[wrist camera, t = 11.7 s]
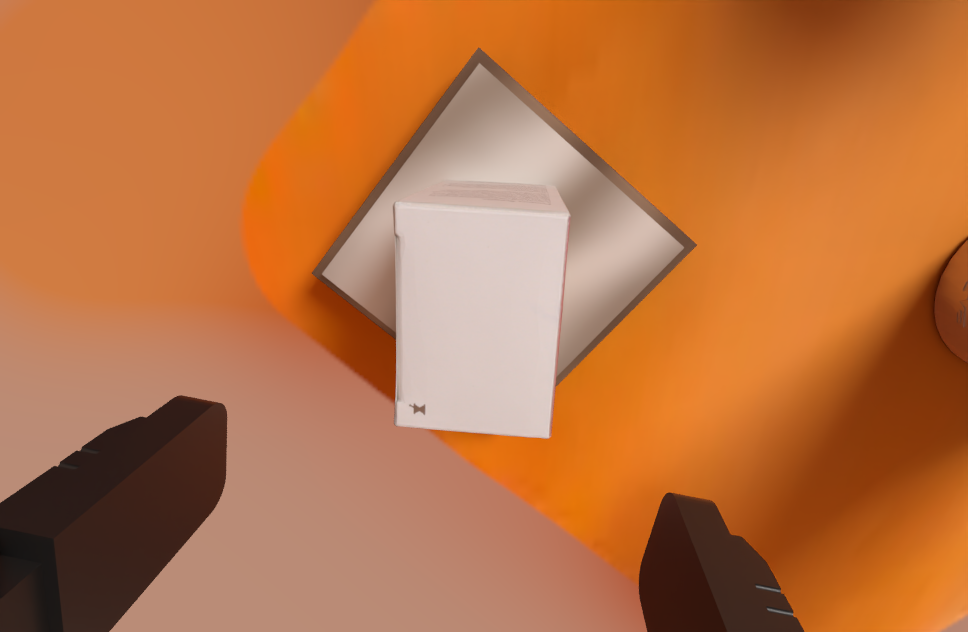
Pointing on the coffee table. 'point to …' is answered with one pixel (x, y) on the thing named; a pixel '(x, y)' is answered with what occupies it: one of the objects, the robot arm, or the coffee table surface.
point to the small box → (479, 306)
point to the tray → (515, 159)
